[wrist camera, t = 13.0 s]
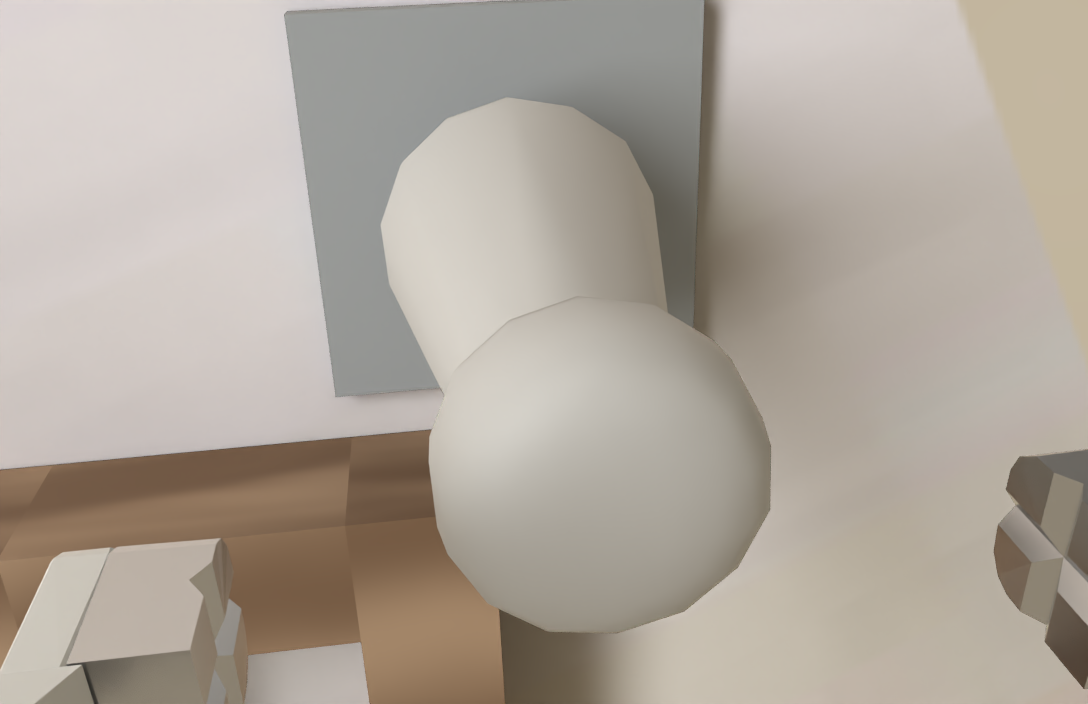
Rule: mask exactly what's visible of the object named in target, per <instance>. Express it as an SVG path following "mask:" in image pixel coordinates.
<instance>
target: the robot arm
mask: <svg viewBox="0 0 1088 704" xmlns="http://www.w3.org/2000/svg"><path fill="white" fill-rule="evenodd" d="M1006 491H1007V492H1008V494H1009V495H1010V497H1011V499H1012V500H1013V502H1014V503H1015V505H1016V506H1015V507H1014V508H1013V509H1012V510H1011V511H1010V512H1009V513H1008V514H1007V515H1006V516H1005V518H1004V519H1003V520H1002V521H1001V522H1000V523H999V524H998V528H997V534H996V540H995V545H994V556H995V561H996V567H997V573H998V577H999V579H1000V581H1001V583H1002V586H1003V588H1004V590H1005V592H1006V594H1007V595H1008V597H1009V598H1010V599H1011V600H1012V602H1013V603H1014V604H1015V606H1016V607H1017V608H1018V609H1019V611H1020V612H1022V613H1024V614H1026V615H1028V616H1030V617H1032V618H1034V619H1036V620H1038V621H1040V622H1042V623H1044V624H1046V633H1045V643H1046V644H1047V645H1048V646H1049V647H1050V649H1051V650H1052V651H1053V652H1054V653H1055V655H1056V656H1057V657H1058V658H1059V660H1060V661H1061V662H1062V663H1063V664H1064V666H1065V667H1066V668H1067V669H1068V670H1069V672H1070V673H1071V674H1072V675H1073V676H1074V678H1075V679H1076V680H1077V681H1078V682H1079V684H1080V685H1081V686H1082V687H1083V689H1088V449H1083V450H1074V451H1065V452H1056V453H1047V454H1038V455H1029V456H1020V457H1019V458H1018V460H1017V461H1016V463H1015V464H1014V466H1013V467H1012V468H1011V471H1010V475H1009V479H1008V483H1007V487H1006ZM233 574H234V571H233V567H232V563H231V559H230V555H229V551H228V547H227V544H226V543H225V542H224V541H223V540H222V538H217V539H205V540H193V541H181V542H168V543H156V544H144V545H132V546H120V547H116V548H110V547H109V548H100V549H90V550H80V551H70V552H62V553H61V554H59V555H58V556H56V557H55V558H53V560H52V561H51V562H50V564H49V566H48V569H47V571H46V573H45V575H44V577H43V579H42V581H41V583H40V586H39V588H38V590H37V592H36V594H35V596H34V598H33V601H32V603H31V605H30V607H29V609H28V611H27V613H26V615H25V618H24V620H23V622H22V624H21V626H20V628H19V630H18V633H17V635H16V637H15V639H14V641H13V643H12V645H11V647H10V650H9V652H8V654H7V656H6V658H5V660H4V662H3V665H2V667H1V669H0V704H244V701H245V694H246V687H247V669H248V649H247V639H246V630H245V624H244V619H243V614H242V609H241V608H240V607H239V606H238V605H237V604H235V603H234V602H233V601H232V600H230V599H229V595H230V590H231V584H232V579H233Z"/></svg>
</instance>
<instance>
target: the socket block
mask: <svg viewBox="0 0 1088 704" xmlns="http://www.w3.org/2000/svg"><path fill="white" fill-rule="evenodd" d="M431 431H432V430H425V431H414V432H403V433H392V434H382V435H371V436H360V437H350V438H339V439H328V440H317V441H307V442H296V443H285V444H274V445H264V446H253V447H242V448H232V449H221V450H210V451H199V452H189V453H178V454H167V455H157V456H146V457H135V458H124V459H114V460H103V461H92V462H81V463H71V464H60V465H49V466H39V467H28V468H17V469H6V470H0V669H1V667H2V665H3V662H4V660H5V658H6V656H7V654H8V652H9V650H10V647H11V645H12V643H13V641H14V639H15V637H16V635H17V633H18V630H19V628H20V626H21V624H22V622H23V620H24V618H25V615H26V613H27V611H28V609H29V607H30V605H31V603H32V601H33V598H34V596H35V594H36V592H37V590H38V588H39V586H40V583H41V581H42V579H43V577H44V575H45V573H46V571H47V569H48V566H49V564H50V562H51V561H52V560H53V558H55V557H56V556H58V555H59V554H61V553H62V552H70V551H80V550H90V549H100V548H109V547H110V548H116V547H120V546H132V545H144V544H156V543H168V542H181V541H193V540H205V539H217V538H222V540H223V541H224V542H225V543H226V544H227V547H228V551H229V555H230V559H231V563H232V567H233V571H234V574H233V579H232V584H231V590H230V595H229V599H230V600H232V601H233V602H234V603H235V604H237V605H238V606H239V607H240V608H241V609H242V614H243V619H244V624H245V630H246V639H247V649H248V655H252V654H261V653H270V652H278V651H287V650H296V649H305V648H313V647H322V646H331V645H339V644H348V643H357V642H361V645H362V652H363V659H364V666H365V673H366V681H367V688H368V695H369V702H370V704H505V695H504V680H503V664H502V649H501V633H500V617H499V609H498V608H496V607H494V606H492V605H490V604H488V603H487V602H486V601H485V600H484V598H483V597H482V596H481V595H480V593H479V592H478V591H477V590H476V589H475V587H474V586H473V585H472V584H471V582H470V581H469V580H468V579H467V578H466V576H465V575H464V574H463V573H462V571H461V570H460V569H459V568H458V567H457V565H456V564H455V563H454V562H453V560H452V559H451V558H450V557H449V555H448V554H447V551H446V549H445V546H444V544H443V541H442V538H441V536H440V533H439V531H438V528H437V523H436V515H435V507H434V500H433V492H432V484H431V476H430V468H429V436H430V434H431Z"/></svg>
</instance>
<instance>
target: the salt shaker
mask: <svg viewBox="0 0 1088 704" xmlns="http://www.w3.org/2000/svg"><path fill="white" fill-rule="evenodd" d="M381 232H382V238H383V245H384V252H385V259H386V266H387V273H388V280H389V285H390V287H391V289H392V291H393V293H394V295H395V297H396V299H397V301H398V303H399V305H400V307H401V309H402V311H403V313H404V315H405V317H406V319H407V321H408V323H409V325H410V327H411V329H412V331H413V333H414V335H415V337H416V340H417V342H418V344H419V346H420V348H421V350H422V352H423V354H424V356H425V358H426V360H427V362H428V364H429V366H430V368H431V370H432V372H433V374H434V376H435V378H436V380H437V382H438V384H439V386H440V388H441V390H442V392H443V394H444V399H443V401H442V404H441V407H440V409H439V412H438V415H437V417H436V420H435V423H434V425H433V428H432V431H431V434H430V436H429V468H430V476H431V484H432V492H433V500H434V507H435V515H436V523H437V528H438V531H439V533H440V536H441V538H442V541H443V544H444V546H445V549H446V551H447V554H448V555H449V557H450V558H451V559H452V560H453V562H454V563H455V564H456V565H457V567H458V568H459V569H460V570H461V571H462V573H463V574H464V575H465V576H466V578H467V579H468V580H469V581H470V582H471V584H472V585H473V586H474V587H475V589H476V590H477V591H478V592H479V593H480V595H481V596H482V597H483V598H484V600H485V601H486V602H487V603H488V604H490V605H492V606H494V607H496V608H498V609H500V610H502V611H504V612H506V613H509V614H511V615H513V616H515V617H517V618H519V619H521V620H523V621H526V622H528V623H530V624H532V625H534V626H536V627H538V628H540V629H543V630H545V631H547V632H580V633H619V632H622V631H625V630H629V629H632V628H635V627H638V626H641V625H644V624H647V623H650V622H653V621H656V620H659V619H662V618H666V617H669V616H672V615H675V614H678V613H681V612H684V611H685V610H687V609H688V608H689V607H690V606H691V605H693V604H694V603H695V602H696V601H698V600H699V599H700V598H701V597H702V596H704V595H705V594H706V593H707V592H708V591H710V590H711V589H712V588H713V587H715V586H716V585H717V584H718V583H719V582H721V581H722V580H723V579H724V578H726V577H727V576H728V575H729V574H730V573H732V572H733V571H734V570H735V569H737V568H738V566H739V564H740V563H741V561H742V559H743V557H744V555H745V554H746V552H747V550H748V548H749V546H750V545H751V543H752V541H753V539H754V537H755V536H756V534H757V532H758V530H759V529H760V527H761V525H762V523H763V521H764V520H765V518H766V516H767V514H768V512H769V511H770V482H771V445H770V441H769V438H768V435H767V432H766V428H765V425H764V422H763V419H762V416H761V414H760V412H759V411H758V409H757V407H756V405H755V403H754V401H753V399H752V397H751V396H750V394H749V392H748V390H747V388H746V386H745V384H744V382H743V381H742V379H741V377H740V375H739V373H738V371H737V369H736V367H735V366H734V364H733V362H732V360H731V359H730V358H729V356H728V355H727V354H726V353H725V352H724V351H723V350H722V349H721V348H720V347H719V346H718V345H717V344H716V342H715V341H714V340H712V339H711V338H709V337H707V336H706V335H704V334H702V333H701V332H699V331H697V330H696V329H694V328H692V327H691V326H689V325H687V324H686V323H684V322H682V321H680V320H679V319H677V318H675V317H674V316H672V315H670V314H669V313H668V310H667V302H666V294H665V286H664V278H663V270H662V262H661V254H660V246H659V238H658V230H657V222H656V214H655V206H654V198H653V194H652V192H651V190H650V188H649V186H648V184H647V182H646V180H645V178H644V176H643V174H642V172H641V170H640V168H639V166H638V164H637V162H636V160H635V158H634V156H633V155H632V153H631V151H630V149H629V147H628V145H627V143H626V141H624V140H623V139H621V138H620V137H618V136H617V135H615V134H614V133H612V132H610V131H609V130H607V129H606V128H604V127H603V126H601V125H600V124H598V123H597V122H595V121H593V120H592V119H590V118H589V117H587V116H586V115H584V114H583V113H581V112H580V111H578V110H576V109H575V108H573V107H569V106H563V105H557V104H550V103H543V102H536V101H529V100H523V99H516V98H509V97H505V98H503V99H500V100H497V101H494V102H491V103H488V104H486V105H483V106H480V107H477V108H474V109H471V110H469V111H466V112H463V113H460V114H457V115H455V116H452V117H449V118H447V119H446V120H444V121H443V122H442V123H441V124H440V125H439V126H438V127H437V128H436V129H435V130H434V131H433V132H432V133H431V134H430V135H429V136H428V137H427V138H426V139H425V140H424V141H423V142H422V143H421V144H420V145H419V146H418V147H417V148H416V149H415V150H414V151H413V152H412V153H411V154H410V155H409V156H408V157H407V158H406V159H405V160H404V161H403V162H402V163H401V165H400V168H399V171H398V174H397V177H396V180H395V183H394V186H393V189H392V192H391V195H390V198H389V201H388V204H387V207H386V210H385V213H384V216H383V219H382V222H381Z"/></svg>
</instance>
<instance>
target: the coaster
mask: <svg viewBox="0 0 1088 704" xmlns="http://www.w3.org/2000/svg"><path fill="white" fill-rule="evenodd" d="M284 17H285V25H286V32H287V39H288V47H289V54H290V62H291V69H292V76H293V84H294V91H295V99H296V106H297V113H298V121H299V128H300V136H301V143H302V150H303V158H304V165H305V173H306V180H307V188H308V195H309V202H310V210H311V217H312V225H313V232H314V239H315V247H316V254H317V262H318V269H319V276H320V284H321V291H322V299H323V306H324V313H325V321H326V328H327V336H328V343H329V350H330V358H331V365H332V373H333V380H334V387H335V395H336V397H343V396H354V395H365V394H377V393H388V392H399V391H410V390H422V389H433V388H440V386H439V384H438V382H437V380H436V378H435V376H434V374H433V372H432V370H431V368H430V366H429V364H428V362H427V360H426V358H425V356H424V354H423V352H422V350H421V348H420V346H419V344H418V342H417V340H416V337H415V335H414V333H413V331H412V329H411V327H410V325H409V323H408V321H407V319H406V317H405V315H404V313H403V311H402V309H401V307H400V305H399V303H398V301H397V299H396V297H395V295H394V293H393V291H392V289H391V287H390V285H389V280H388V273H387V266H386V259H385V252H384V245H383V238H382V232H381V222H382V219H383V216H384V213H385V210H386V207H387V204H388V201H389V198H390V195H391V192H392V189H393V186H394V183H395V180H396V177H397V174H398V171H399V168H400V165H401V163H402V162H403V161H404V160H405V159H406V158H407V157H408V156H409V155H410V154H411V153H412V152H413V151H414V150H415V149H416V148H417V147H418V146H419V145H420V144H421V143H422V142H423V141H424V140H425V139H426V138H427V137H428V136H429V135H430V134H431V133H432V132H433V131H434V130H435V129H436V128H437V127H438V126H439V125H440V124H441V123H442V122H443V121H444V120H446V119H447V118H449V117H452V116H455V115H457V114H460V113H463V112H466V111H469V110H471V109H474V108H477V107H480V106H483V105H486V104H488V103H491V102H494V101H497V100H500V99H503V98H505V97H509V98H516V99H523V100H529V101H536V102H543V103H550V104H557V105H563V106H569V107H573V108H575V109H576V110H578V111H580V112H581V113H583V114H584V115H586V116H587V117H589V118H590V119H592V120H593V121H595V122H597V123H598V124H600V125H601V126H603V127H604V128H606V129H607V130H609V131H610V132H612V133H614V134H615V135H617V136H618V137H620V138H621V139H623V140H624V141H626V143H627V145H628V147H629V149H630V151H631V153H632V155H633V156H634V158H635V160H636V162H637V164H638V166H639V168H640V170H641V172H642V174H643V176H644V178H645V180H646V182H647V184H648V186H649V188H650V190H651V192H652V194H653V198H654V206H655V214H656V222H657V230H658V238H659V246H660V254H661V262H662V270H663V278H664V286H665V294H666V302H667V310H668V313H669V314H670V315H672V316H674V317H675V318H677V319H679V320H680V321H682V322H684V323H686V324H687V325H689V326H691V327H692V328H693V324H694V294H695V264H696V234H697V204H698V174H699V145H700V115H701V85H702V55H703V25H704V0H512V1H491V2H471V3H450V4H429V5H409V6H388V7H367V8H347V9H326V10H305V11H287V12H286V13H285V14H284Z"/></svg>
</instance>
